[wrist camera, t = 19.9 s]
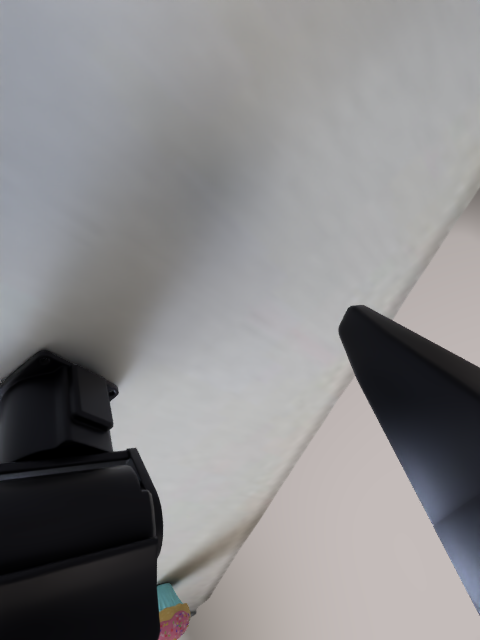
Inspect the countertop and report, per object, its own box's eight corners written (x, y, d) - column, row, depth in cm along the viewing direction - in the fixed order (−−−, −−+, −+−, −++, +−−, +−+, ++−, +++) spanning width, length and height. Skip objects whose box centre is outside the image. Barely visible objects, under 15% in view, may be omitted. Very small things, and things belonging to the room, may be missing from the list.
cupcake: (166, 574, 53) (189, 677, 45) (190, 578, 59) (215, 670, 51) (117, 605, 53) (131, 715, 45) (147, 607, 59) (164, 704, 51)
